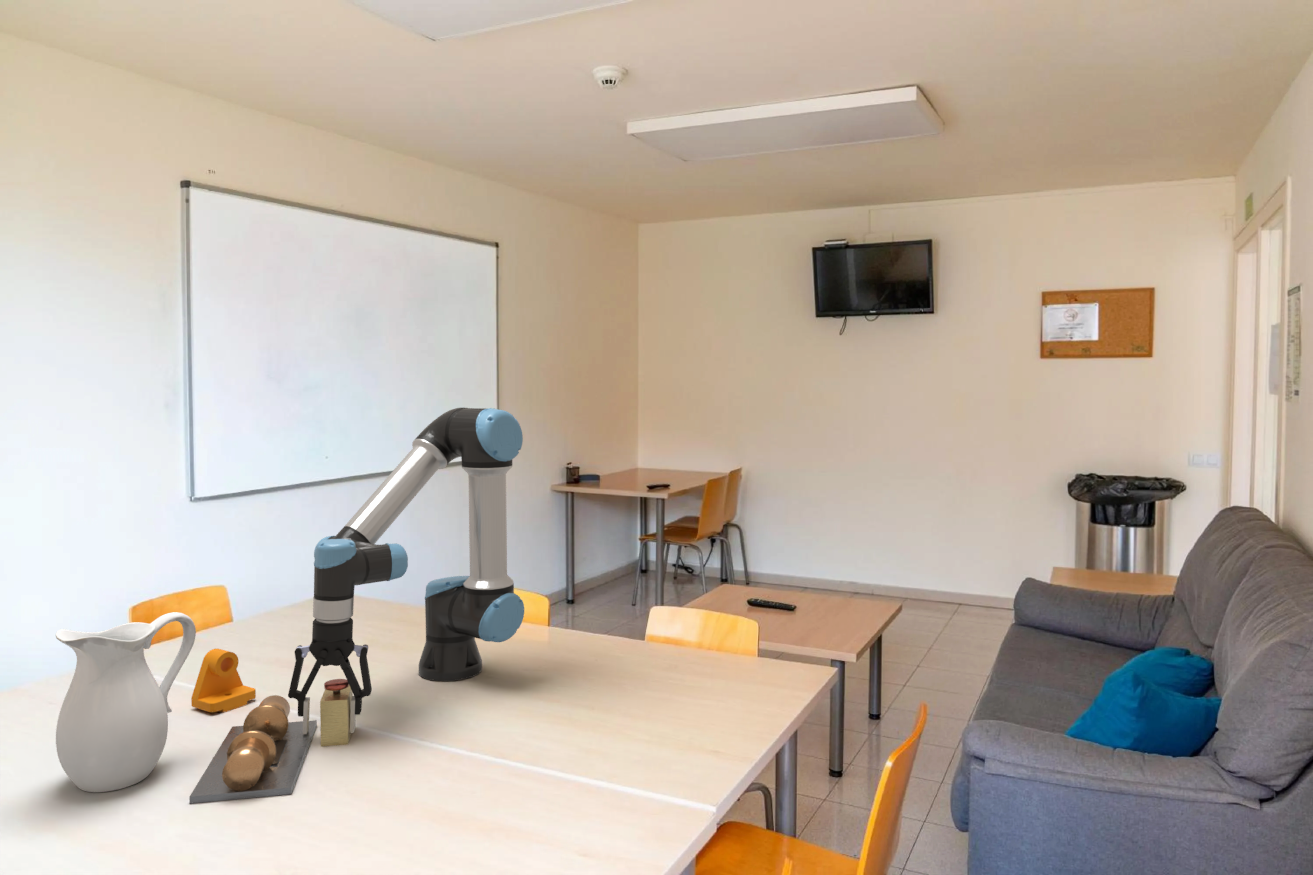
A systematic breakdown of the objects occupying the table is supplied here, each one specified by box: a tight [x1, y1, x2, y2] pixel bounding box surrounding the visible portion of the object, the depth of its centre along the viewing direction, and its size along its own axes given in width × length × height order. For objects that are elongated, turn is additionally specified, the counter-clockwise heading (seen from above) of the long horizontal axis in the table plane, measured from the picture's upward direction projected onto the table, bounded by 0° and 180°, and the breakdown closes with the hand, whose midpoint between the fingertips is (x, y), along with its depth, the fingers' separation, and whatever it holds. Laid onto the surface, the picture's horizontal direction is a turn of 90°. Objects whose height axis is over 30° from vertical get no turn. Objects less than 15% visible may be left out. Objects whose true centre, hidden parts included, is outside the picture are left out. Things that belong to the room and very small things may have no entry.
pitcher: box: [55, 611, 197, 793], centre depth 160 cm, size 24×17×28 cm
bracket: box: [191, 648, 257, 714], centre depth 193 cm, size 11×7×12 cm, turn 149°
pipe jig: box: [188, 694, 318, 804], centre depth 166 cm, size 31×16×8 cm, turn 13°
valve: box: [319, 678, 354, 748], centre depth 177 cm, size 5×9×11 cm, turn 13°
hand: (329, 730), depth 177 cm, fingers open, 8 cm apart
